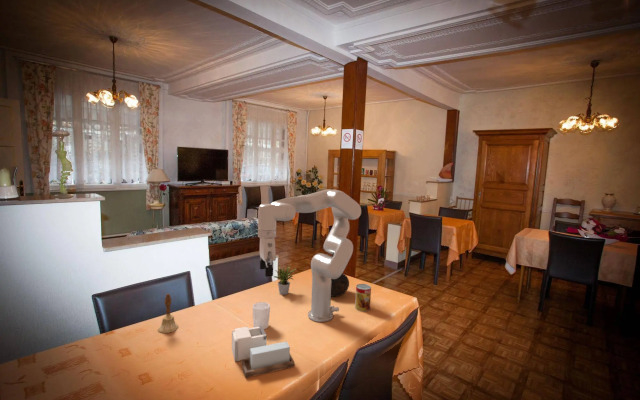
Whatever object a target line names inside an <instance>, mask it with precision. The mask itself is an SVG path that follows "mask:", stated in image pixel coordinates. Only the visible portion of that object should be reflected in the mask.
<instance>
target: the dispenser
mask: <svg viewBox="0 0 640 400" xmlns="http://www.w3.org/2000/svg"><path fill="white" fill-rule="evenodd" d="M267 338H268V337H267V333H266V331H265V329H263V327H262V326H259V327H254V326H253V327H248V326H243V327H236V328H234V330H232V331H231V352H232V356H233V361H234V362H239V361H241V360H242V359H247V358H250V349H251V348H256V347H261V346H266V345H267V342H268V341H267Z"/></svg>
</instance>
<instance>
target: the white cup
mask: <svg viewBox="0 0 640 400" xmlns="http://www.w3.org/2000/svg"><path fill="white" fill-rule="evenodd" d="M270 309H271V305H270V303H269V302H266V301H260V302H255V303H253V304H252V321H253V327H259V326H262V327H263V329H264V330H267V329H268V328H269V321H270V312H271V311H270Z"/></svg>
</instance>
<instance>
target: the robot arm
mask: <svg viewBox="0 0 640 400" xmlns="http://www.w3.org/2000/svg"><path fill="white" fill-rule="evenodd" d="M327 208H331V211H332V212H331V213H332V216H333V225H332V227H331V229H330V231H329V232H328V235H327V237H326V238H325V241H324V243H323V250H324V251H325V252H326V253H328V254H330V255H328V254H326V253H316V254H315V255H313V257H312V258H311V261H310V269H311V278H312V279H311V280H312V281H311V309H310V310H309V311H308V313H307V317H308V318H309V319H310V320H311V321H313V322H317V323H319V322H320V323H324V322H329V321H331V320H333V318H334V312H340V308H339V306H337V307H336V306H335V305H331V301H332V299H331V298H332V296H331V279H337V278H339V277H340V276H341V274H342V273H343V274H344V271H345V270H346V267H347V265H348V263H349V261H350V259H351V258H352V255H353V253H354V252H353V251H354V244H353V241H351V240H350V239H348V238H347V237H348V234H349V232H350V222H349V220H351V221H352V220H357V219H359V218H360V216H361V215H362V208H361V205H360V204H359V203H358V202H357V201H356V200H355V199H354V198H352V197H351V196H349V195H348V194H347V193H345V192H344V191H341V190H339V189H323V190H320V191H316V192H313V193H310V194H303V195H299V196H293V197H292V196H291V197H285V198H282V199H278V200H275V201H272V202H271V203H261V204H260V205H259V206H258V211H257V213H258V217H257V219H258V221H257V226H258V227H257V237H258V238H259V259H260V260H259V269H260V270H264V271H265V272H264V276H265V277H266V278H268V277H274V262H275V261H276V260H277V259H276V258H277V257H276V253H277V251H276V239H275V238H276V237H277V222H278V221H281V222H289V221H291V220H293V219H294V218H295V216H296V213H299V214H300V213H301V214H309V213H311V214H312V213H314V212H317V211H322V210H325V209H327ZM332 254H333V255H334V256H333V257H332Z"/></svg>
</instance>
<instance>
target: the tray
mask: <svg viewBox="0 0 640 400" xmlns="http://www.w3.org/2000/svg"><path fill="white" fill-rule="evenodd" d="M240 361H241V362H240V365H241V368H242V371H243V375H244V379H246V378H250V377H254V376H255V377H256V376H260V375H263V374H268V373H273V372H277V371H280V370H281V371H282V370H284V369H291V368H293V367H295V360H294V358H293V357H292V354H290V360H289V362H285V363H280V364H276V365H271V366H267V367H263V368H258V369H254V370H252V369H251V366H250V358H247V359H242V360H240Z"/></svg>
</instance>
